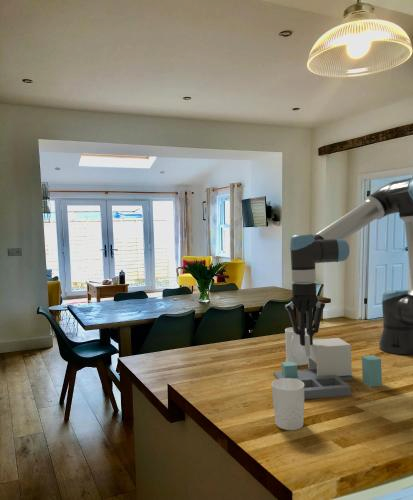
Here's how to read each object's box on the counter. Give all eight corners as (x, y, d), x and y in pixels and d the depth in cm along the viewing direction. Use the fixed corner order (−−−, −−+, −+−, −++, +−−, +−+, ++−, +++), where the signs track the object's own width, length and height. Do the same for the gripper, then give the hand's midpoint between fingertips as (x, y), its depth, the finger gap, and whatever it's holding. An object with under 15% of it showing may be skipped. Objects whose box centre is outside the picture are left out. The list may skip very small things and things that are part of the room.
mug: (302, 369, 134) (301, 335, 134) (279, 366, 139) (277, 333, 139) (312, 360, 144) (311, 327, 144) (290, 357, 149) (289, 326, 149)
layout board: (339, 369, 133) (339, 355, 133) (353, 380, 123) (352, 364, 123) (273, 374, 131) (272, 360, 131) (281, 385, 121) (281, 369, 121)
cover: (339, 366, 132) (338, 337, 132) (351, 375, 123) (350, 344, 123) (308, 368, 131) (307, 340, 131) (318, 377, 122) (316, 347, 122)
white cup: (269, 418, 100) (268, 379, 99) (299, 415, 100) (298, 377, 100) (278, 433, 92) (276, 391, 92) (310, 430, 92) (309, 388, 92)
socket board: (336, 382, 121) (336, 374, 121) (351, 395, 111) (350, 386, 111) (286, 386, 120) (285, 378, 120) (296, 399, 110) (296, 391, 110)
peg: (375, 380, 121) (374, 355, 121) (382, 385, 117) (381, 359, 117) (362, 381, 121) (361, 356, 121) (369, 386, 117) (368, 360, 117)
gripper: (319, 280, 130) (321, 350, 131) (280, 282, 129) (283, 353, 130) (328, 282, 123) (330, 357, 123) (287, 284, 122) (290, 360, 122)
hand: (306, 355), depth 126 cm, fingers closed
